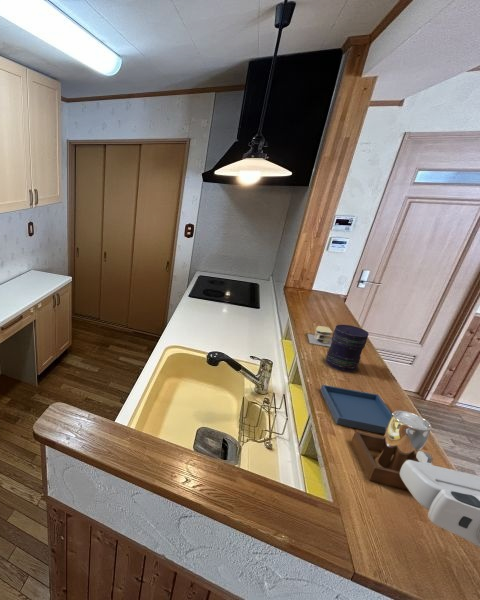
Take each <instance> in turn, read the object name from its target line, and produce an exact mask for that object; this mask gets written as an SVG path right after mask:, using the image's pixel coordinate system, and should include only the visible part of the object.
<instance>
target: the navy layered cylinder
mask: <svg viewBox="0 0 480 600" xmlns="http://www.w3.org/2000/svg"><path fill="white" fill-rule="evenodd" d="M368 338H369V332H368V331H367V330H365V329H363V328H360V327H358V326H356V325H355V326H354V325H350V324H337V325H335V327H334V331H333V332H332V337H331V339H332V343H331V346H330V347H328V350H327V353H326V357H325V361H324V362H325V364H326V365H327V366H329V367H330V368H332V369H334V370H337V371H341V372H345V373H354V372H356V371H357V370H358V369H357V368H358V366H359V364H360V361H361V358H362V357H361V355H362V352H363V349H364V348H365V347H366V344H367V340H368Z"/></svg>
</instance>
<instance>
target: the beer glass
mask: <svg viewBox="0 0 480 600" xmlns="http://www.w3.org/2000/svg"><path fill="white" fill-rule="evenodd" d="M432 428H433V427H432V425H431V423H430V422H429V420H427V419H426V418H424V417H422V416H420V415H418V414H416V413H413V412H410V411H406V410H400V409H399V410H394V411H393V412H392V416H391V417H390V419H389V421H388V423H387V425H386V428H385V431H384V434H383V436H382V437H383V445H382V449H381V451H379V454H378V455H377V456H376V457H375V458H374V461H375V463H376V465H377V466H378V467H382V468H386V469H390V470H395V471H399V472H400V470H401V467H402V465H403V464H404V462H405V461H407V460H413V459H414V458H415V457H416V455H417V453H418V451H422V450H423V449H424V447H425V445H426V444H427V442H428V439H429V436H430V433H431V430H432Z"/></svg>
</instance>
